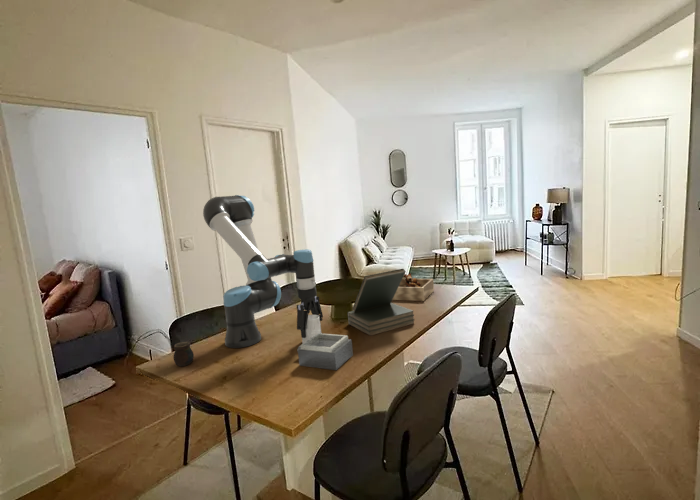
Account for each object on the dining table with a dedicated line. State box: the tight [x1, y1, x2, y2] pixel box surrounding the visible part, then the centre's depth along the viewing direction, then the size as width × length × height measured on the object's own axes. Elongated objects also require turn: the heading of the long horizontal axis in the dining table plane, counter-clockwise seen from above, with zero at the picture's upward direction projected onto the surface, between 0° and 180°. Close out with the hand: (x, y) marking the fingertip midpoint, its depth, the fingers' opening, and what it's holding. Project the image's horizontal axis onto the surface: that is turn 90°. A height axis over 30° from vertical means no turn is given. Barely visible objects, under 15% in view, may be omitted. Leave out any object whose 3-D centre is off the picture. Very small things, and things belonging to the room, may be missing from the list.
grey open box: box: [297, 332, 354, 371], centre depth 143 cm, size 19×13×8 cm
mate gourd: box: [173, 339, 195, 367], centre depth 151 cm, size 7×8×10 cm
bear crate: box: [392, 278, 435, 302], centre depth 221 cm, size 21×21×7 cm
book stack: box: [347, 268, 415, 336], centre depth 175 cm, size 23×20×25 cm
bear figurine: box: [403, 273, 421, 287], centre depth 221 cm, size 14×15×12 cm
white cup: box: [306, 314, 321, 339], centre depth 163 cm, size 8×8×10 cm
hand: (312, 340), depth 164 cm, fingers open, 9 cm apart
